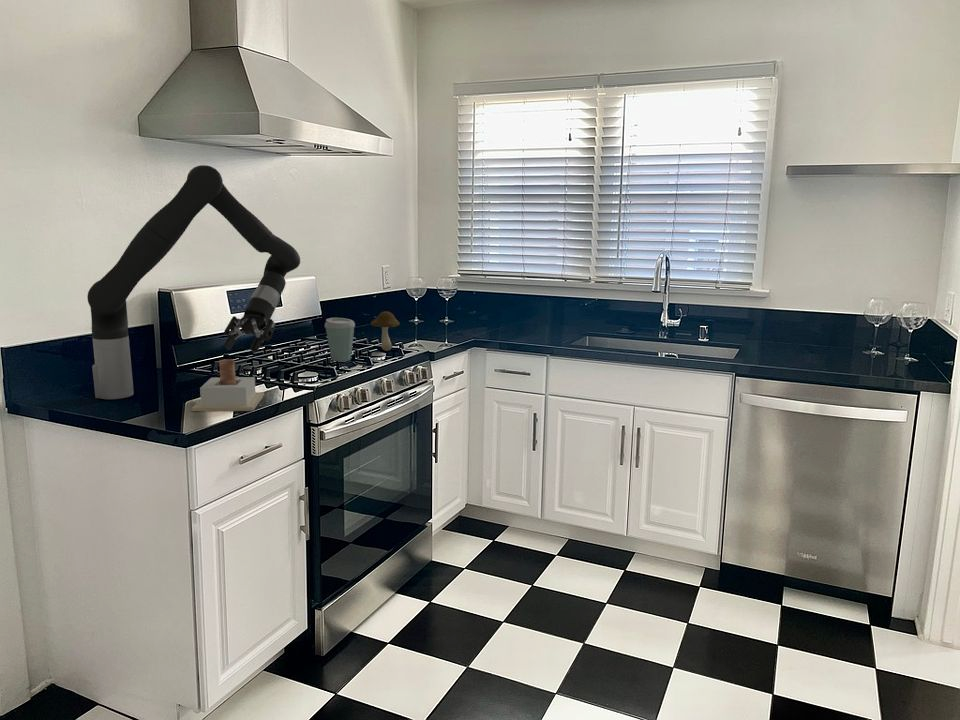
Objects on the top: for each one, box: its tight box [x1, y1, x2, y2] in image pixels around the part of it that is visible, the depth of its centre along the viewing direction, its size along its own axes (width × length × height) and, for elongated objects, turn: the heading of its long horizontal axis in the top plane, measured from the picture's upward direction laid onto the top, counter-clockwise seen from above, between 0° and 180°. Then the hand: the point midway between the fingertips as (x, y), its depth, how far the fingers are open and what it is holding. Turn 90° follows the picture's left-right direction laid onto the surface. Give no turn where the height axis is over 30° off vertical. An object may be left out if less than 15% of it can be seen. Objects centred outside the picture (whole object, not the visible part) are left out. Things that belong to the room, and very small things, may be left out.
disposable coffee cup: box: [324, 317, 356, 363], centre depth 263 cm, size 11×11×15 cm
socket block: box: [191, 376, 265, 412], centre depth 209 cm, size 16×16×6 cm
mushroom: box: [370, 310, 401, 352], centre depth 282 cm, size 9×11×15 cm
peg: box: [218, 358, 236, 385], centre depth 209 cm, size 4×4×11 cm
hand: (239, 349), depth 212 cm, fingers open, 8 cm apart
